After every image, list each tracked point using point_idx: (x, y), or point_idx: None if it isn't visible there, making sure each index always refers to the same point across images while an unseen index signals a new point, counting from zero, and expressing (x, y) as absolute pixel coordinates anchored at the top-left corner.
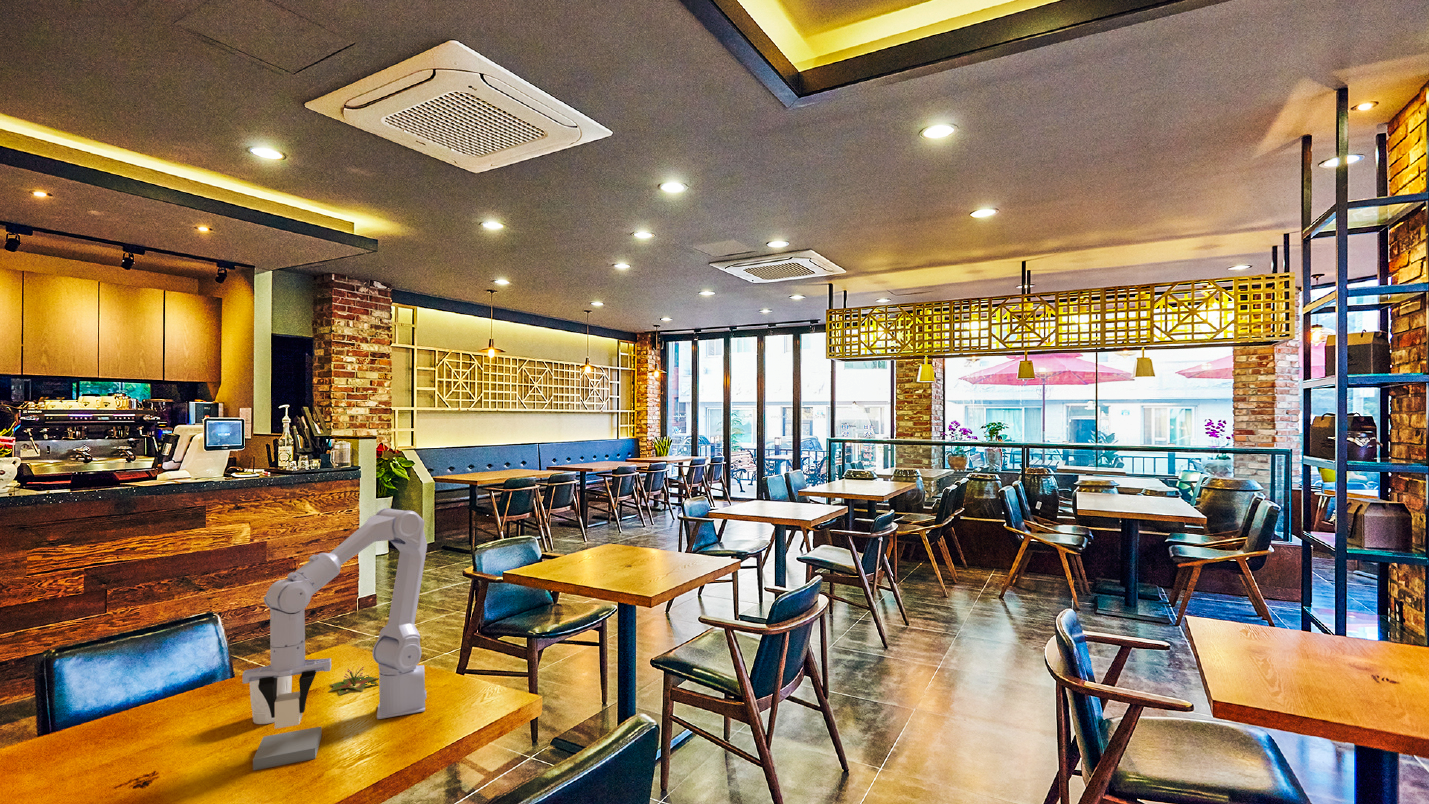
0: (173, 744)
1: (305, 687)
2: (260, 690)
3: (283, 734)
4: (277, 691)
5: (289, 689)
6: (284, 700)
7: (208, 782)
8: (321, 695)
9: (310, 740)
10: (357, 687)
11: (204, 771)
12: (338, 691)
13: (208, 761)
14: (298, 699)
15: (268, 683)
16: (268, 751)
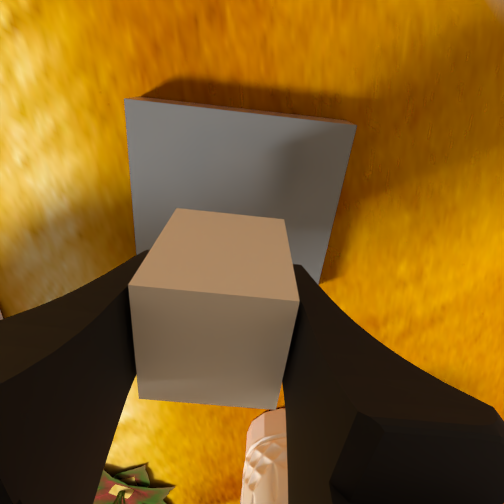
0: (494, 404)
1: (17, 333)
2: (472, 398)
3: None
4: (277, 498)
5: (244, 501)
6: (231, 300)
7: (485, 107)
8: (186, 479)
9: (157, 191)
10: (108, 480)
11: (474, 209)
12: (148, 479)
13: (450, 273)
14: (133, 281)
15: (400, 483)
16: (300, 175)
